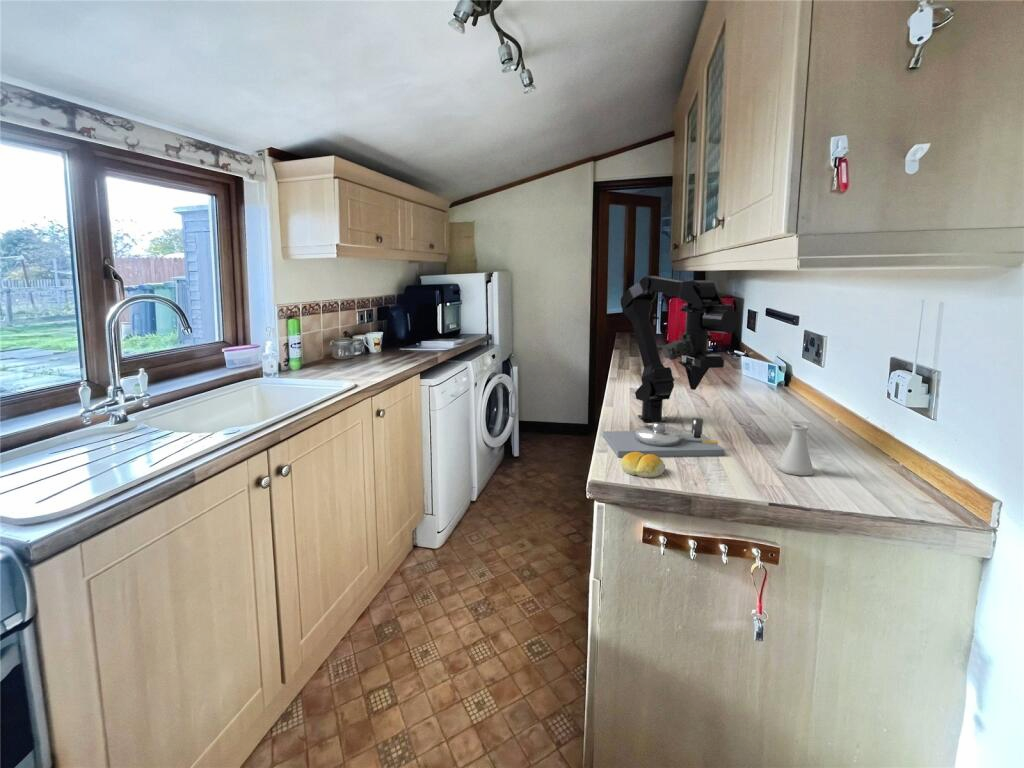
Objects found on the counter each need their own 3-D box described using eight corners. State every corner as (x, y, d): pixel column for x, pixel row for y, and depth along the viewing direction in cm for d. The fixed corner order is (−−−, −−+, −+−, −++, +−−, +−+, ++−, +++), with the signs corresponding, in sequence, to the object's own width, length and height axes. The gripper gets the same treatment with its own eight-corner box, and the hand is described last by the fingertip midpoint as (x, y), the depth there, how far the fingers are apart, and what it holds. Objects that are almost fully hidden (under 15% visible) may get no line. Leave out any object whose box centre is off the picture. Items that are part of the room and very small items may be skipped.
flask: (819, 478, 106) (825, 431, 104) (782, 475, 107) (786, 429, 105) (807, 466, 113) (812, 422, 111) (771, 463, 114) (776, 420, 112)
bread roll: (630, 461, 116) (631, 444, 115) (668, 470, 111) (669, 453, 110) (613, 471, 110) (614, 454, 109) (652, 482, 104) (653, 463, 103)
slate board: (602, 436, 134) (603, 429, 133) (698, 435, 135) (698, 427, 135) (617, 457, 118) (618, 448, 118) (725, 455, 119) (726, 447, 119)
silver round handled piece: (637, 445, 122) (638, 422, 121) (633, 431, 132) (634, 411, 131) (706, 448, 119) (708, 425, 118) (696, 434, 130) (698, 413, 129)
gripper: (652, 327, 139) (649, 383, 143) (684, 334, 121) (680, 398, 124) (691, 326, 141) (687, 382, 144) (728, 333, 123) (722, 396, 126)
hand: (693, 389), depth 134 cm, fingers closed
